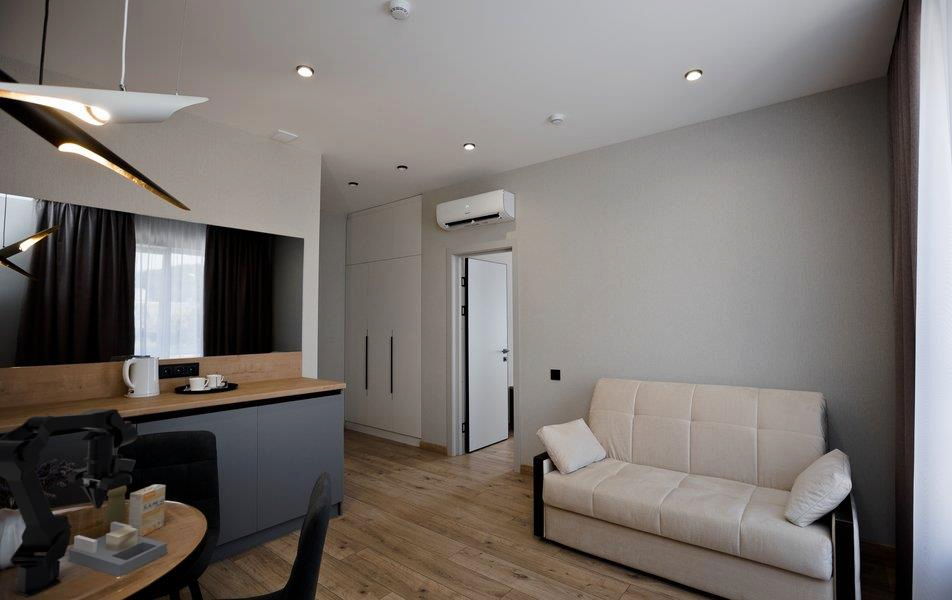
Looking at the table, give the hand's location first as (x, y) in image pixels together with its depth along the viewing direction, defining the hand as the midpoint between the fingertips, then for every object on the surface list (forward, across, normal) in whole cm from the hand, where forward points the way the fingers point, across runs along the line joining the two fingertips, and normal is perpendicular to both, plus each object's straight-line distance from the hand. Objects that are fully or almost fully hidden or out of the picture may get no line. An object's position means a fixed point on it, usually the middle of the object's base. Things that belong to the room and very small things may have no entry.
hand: (98, 508), depth 126 cm
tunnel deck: (+12, -10, 0) cm, 15 cm away
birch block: (+9, -10, 0) cm, 14 cm away
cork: (+12, +17, -15) cm, 26 cm away
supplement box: (+12, -1, -13) cm, 18 cm away
